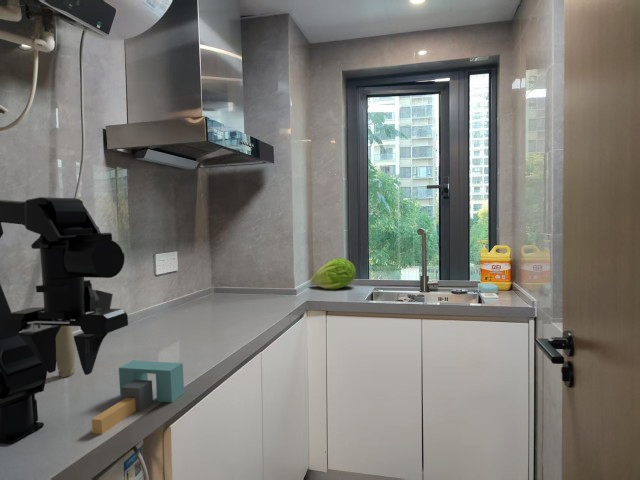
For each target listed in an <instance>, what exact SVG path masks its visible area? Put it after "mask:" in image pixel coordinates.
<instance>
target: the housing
mask: <svg viewBox="0 0 640 480" xmlns="http://www.w3.org/2000/svg"><path fill="white" fill-rule="evenodd" d="M148 374H152V375H153V374H154V375H155V384H156V385H155V387H156V400H157V401H156V402H159V403H160V402H161V403H174V402H175V401H177V399H178V398H180V397H181V396H182V395H184V394H185V385H184V384H185V383H184V381H185V379H184V366H183V362H172V361H171V362H166V361H152V360H151V361H149V360H147V361H146V360H132V361H129V362H128V363H125V364H123V365H121V366H120V367H118V377H119V378H118V379H119V395H120V399H121V400H122V392H121V387H122V386H124V385H126V384H128V383H129V382H131V381H133V380H149V378H148V377H149V376H148Z"/></svg>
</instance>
